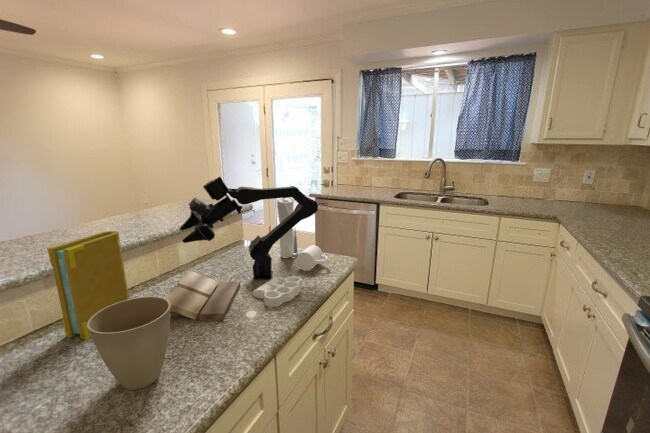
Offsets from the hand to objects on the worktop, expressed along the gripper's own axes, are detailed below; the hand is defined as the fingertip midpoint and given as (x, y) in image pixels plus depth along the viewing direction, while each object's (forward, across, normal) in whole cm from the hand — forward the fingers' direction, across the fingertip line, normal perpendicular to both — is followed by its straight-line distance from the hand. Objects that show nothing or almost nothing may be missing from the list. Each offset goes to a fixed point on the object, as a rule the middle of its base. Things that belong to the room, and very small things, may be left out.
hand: (181, 235), depth 110 cm
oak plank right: (+5, +12, +14) cm, 19 cm away
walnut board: (0, +22, +17) cm, 28 cm away
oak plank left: (+8, +22, +9) cm, 25 cm away
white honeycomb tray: (-16, +25, +27) cm, 40 cm away
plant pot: (+16, +48, 0) cm, 50 cm away
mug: (-32, +10, +41) cm, 53 cm away
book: (+28, +17, +1) cm, 33 cm away
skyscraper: (-26, -8, +42) cm, 50 cm away
